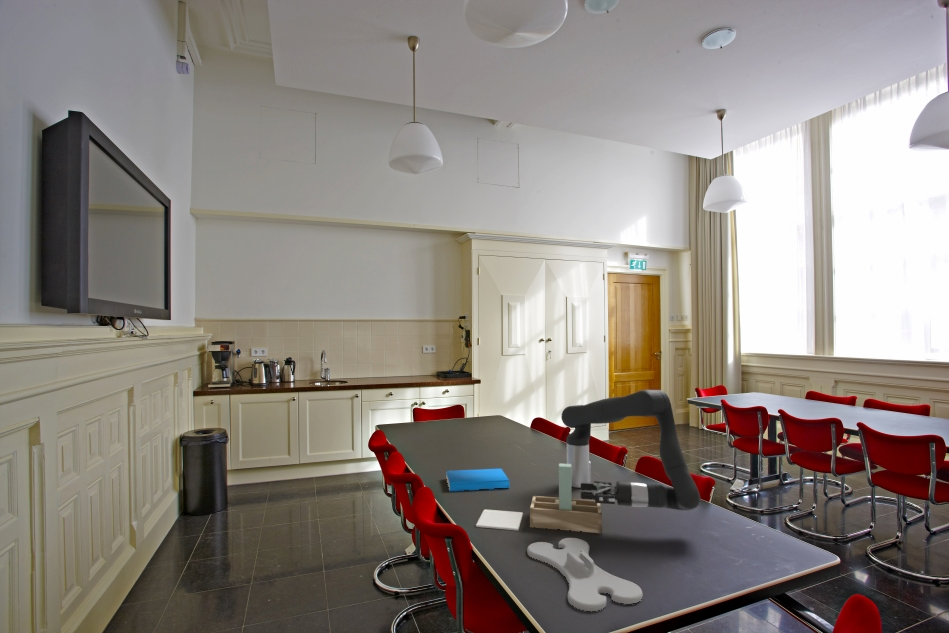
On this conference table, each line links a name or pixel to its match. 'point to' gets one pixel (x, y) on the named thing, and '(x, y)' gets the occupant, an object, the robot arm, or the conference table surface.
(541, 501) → the box
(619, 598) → the holder
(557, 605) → the conference table surface
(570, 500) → the pale green bar
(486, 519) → the mat
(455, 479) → the book
